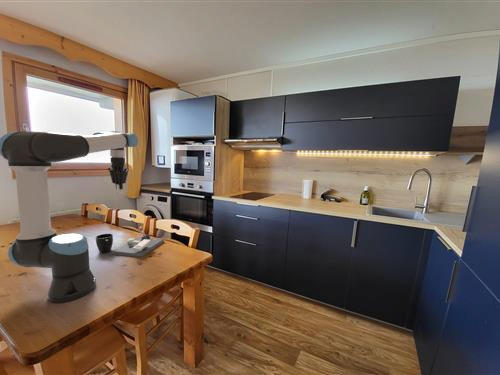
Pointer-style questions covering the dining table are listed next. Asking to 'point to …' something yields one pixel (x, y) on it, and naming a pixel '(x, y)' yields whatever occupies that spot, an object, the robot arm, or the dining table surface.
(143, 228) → the lever
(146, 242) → the rocker
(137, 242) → the slider
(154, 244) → the panel
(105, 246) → the mug
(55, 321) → the dining table surface
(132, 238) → the button
